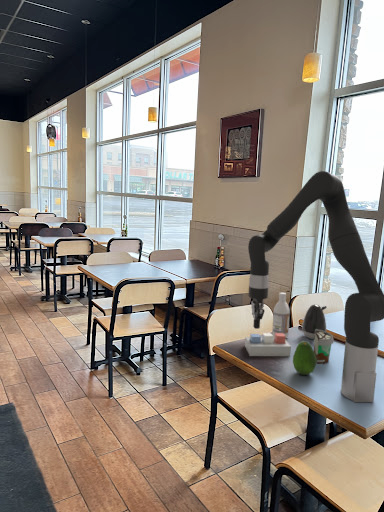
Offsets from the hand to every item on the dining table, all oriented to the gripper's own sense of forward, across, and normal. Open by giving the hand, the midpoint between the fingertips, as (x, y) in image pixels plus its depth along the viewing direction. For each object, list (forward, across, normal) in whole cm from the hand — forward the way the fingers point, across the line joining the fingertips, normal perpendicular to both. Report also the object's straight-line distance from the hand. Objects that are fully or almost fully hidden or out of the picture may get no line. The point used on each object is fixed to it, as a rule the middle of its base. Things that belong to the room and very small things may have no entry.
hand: (256, 327), depth 147 cm
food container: (+10, -8, -25) cm, 28 cm away
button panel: (+10, 0, -5) cm, 11 cm away
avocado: (+10, -20, -13) cm, 26 cm away
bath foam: (+10, +16, -15) cm, 24 cm away
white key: (+7, 0, -5) cm, 9 cm away
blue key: (+8, 0, 0) cm, 8 cm away
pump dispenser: (+10, +15, -30) cm, 35 cm away
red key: (+7, 0, -10) cm, 12 cm away
